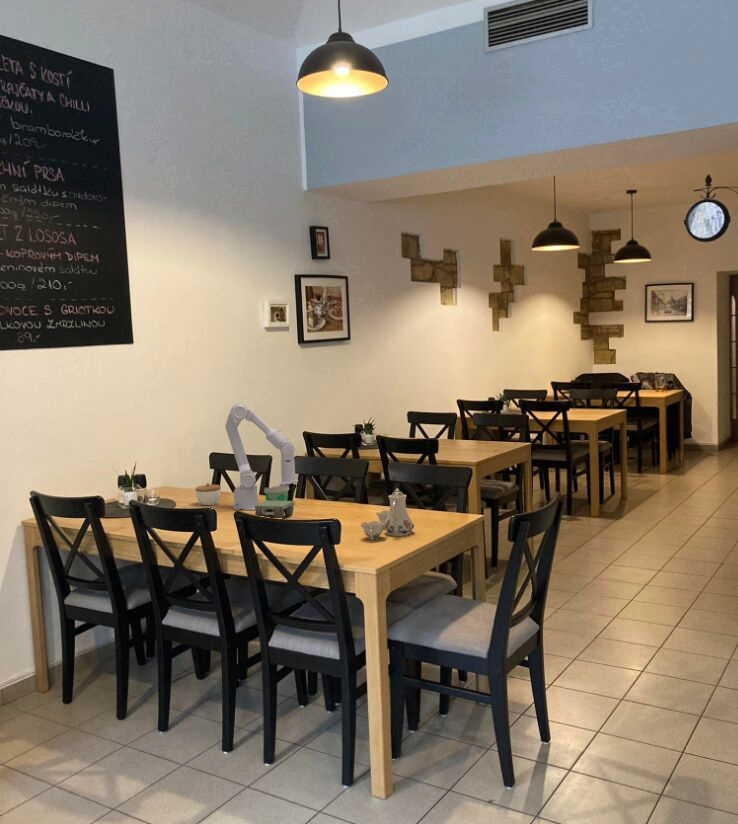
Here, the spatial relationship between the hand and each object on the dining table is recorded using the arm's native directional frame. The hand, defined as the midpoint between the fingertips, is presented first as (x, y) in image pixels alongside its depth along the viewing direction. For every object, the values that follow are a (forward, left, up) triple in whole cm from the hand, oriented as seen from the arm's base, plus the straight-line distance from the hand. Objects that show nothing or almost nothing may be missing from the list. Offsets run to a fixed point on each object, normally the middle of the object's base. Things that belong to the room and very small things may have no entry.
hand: (289, 501), depth 342 cm
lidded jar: (-37, -3, -2) cm, 37 cm away
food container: (0, -9, -2) cm, 9 cm away
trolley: (+4, -23, -1) cm, 24 cm away
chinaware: (+57, -40, -2) cm, 69 cm away
